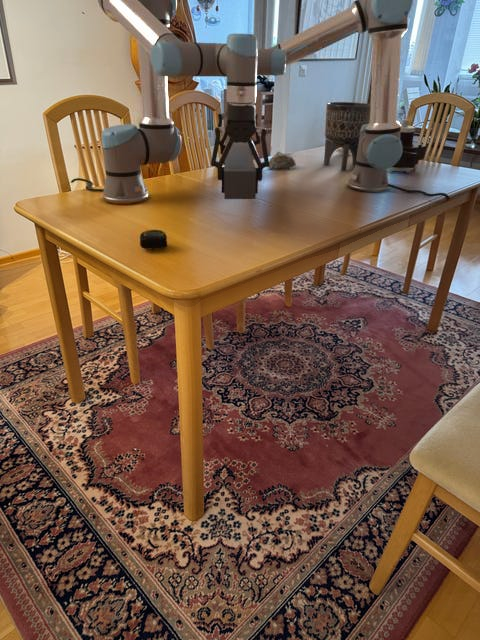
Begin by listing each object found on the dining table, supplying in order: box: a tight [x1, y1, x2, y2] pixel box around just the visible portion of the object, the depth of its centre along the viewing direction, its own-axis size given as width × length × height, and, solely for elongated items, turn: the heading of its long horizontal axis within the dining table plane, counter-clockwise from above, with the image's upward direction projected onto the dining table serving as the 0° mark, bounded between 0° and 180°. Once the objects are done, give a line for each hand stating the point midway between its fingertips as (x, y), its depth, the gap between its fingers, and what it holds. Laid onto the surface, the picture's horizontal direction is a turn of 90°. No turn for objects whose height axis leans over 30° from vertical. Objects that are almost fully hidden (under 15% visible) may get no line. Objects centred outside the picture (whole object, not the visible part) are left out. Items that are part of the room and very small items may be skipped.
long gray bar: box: [223, 141, 257, 200], centre depth 145 cm, size 52×9×7 cm, turn 1°
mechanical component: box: [387, 119, 428, 174], centre depth 205 cm, size 22×21×30 cm
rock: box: [267, 151, 297, 171], centre depth 203 cm, size 13×9×6 cm, turn 131°
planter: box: [323, 101, 371, 172], centre depth 204 cm, size 20×20×26 cm
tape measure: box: [139, 229, 168, 250], centre depth 117 cm, size 7×7×4 cm
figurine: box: [335, 147, 352, 156], centre depth 235 cm, size 8×15×13 cm, turn 145°
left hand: (239, 191), depth 128 cm, fingers closed on long gray bar, 9 cm apart
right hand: (237, 164), depth 164 cm, fingers closed on long gray bar, 9 cm apart
